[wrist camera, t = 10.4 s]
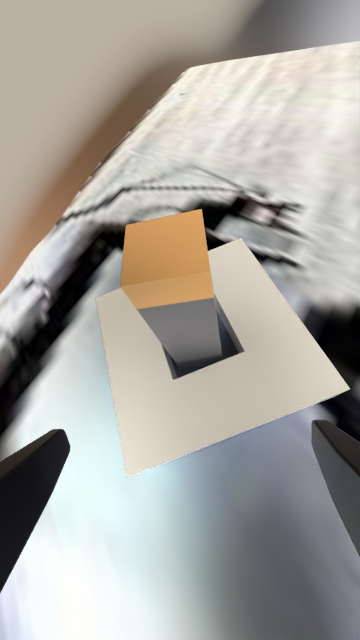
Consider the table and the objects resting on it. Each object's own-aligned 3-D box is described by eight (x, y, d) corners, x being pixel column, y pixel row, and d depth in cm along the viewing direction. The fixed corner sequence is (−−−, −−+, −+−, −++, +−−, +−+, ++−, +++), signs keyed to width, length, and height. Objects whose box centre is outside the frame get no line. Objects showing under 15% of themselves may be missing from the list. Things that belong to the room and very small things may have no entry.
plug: (223, 364, 21) (210, 271, 10) (180, 368, 21) (119, 286, 10) (218, 324, 23) (201, 208, 12) (178, 330, 23) (126, 225, 12)
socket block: (333, 396, 18) (350, 388, 15) (142, 472, 18) (126, 477, 16) (240, 258, 26) (241, 237, 23) (109, 312, 26) (95, 297, 24)
